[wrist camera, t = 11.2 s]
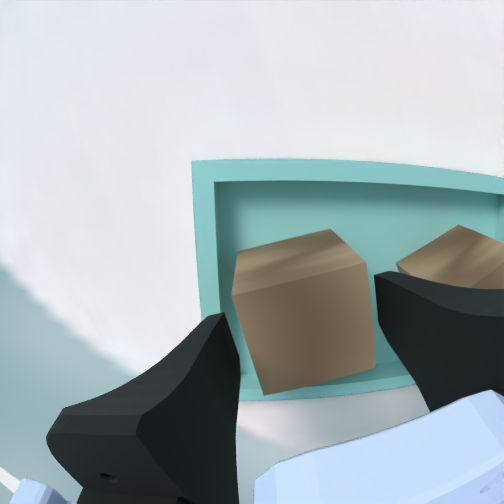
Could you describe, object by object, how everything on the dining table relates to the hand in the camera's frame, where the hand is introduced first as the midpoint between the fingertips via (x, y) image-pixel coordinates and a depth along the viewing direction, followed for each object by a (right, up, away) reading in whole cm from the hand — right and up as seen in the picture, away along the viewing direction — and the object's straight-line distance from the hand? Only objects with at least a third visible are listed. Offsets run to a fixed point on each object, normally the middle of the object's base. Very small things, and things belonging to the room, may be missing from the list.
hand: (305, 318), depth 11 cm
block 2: (+7, +1, +3) cm, 8 cm away
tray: (+4, +1, +3) cm, 5 cm away
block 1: (0, +1, +3) cm, 3 cm away
